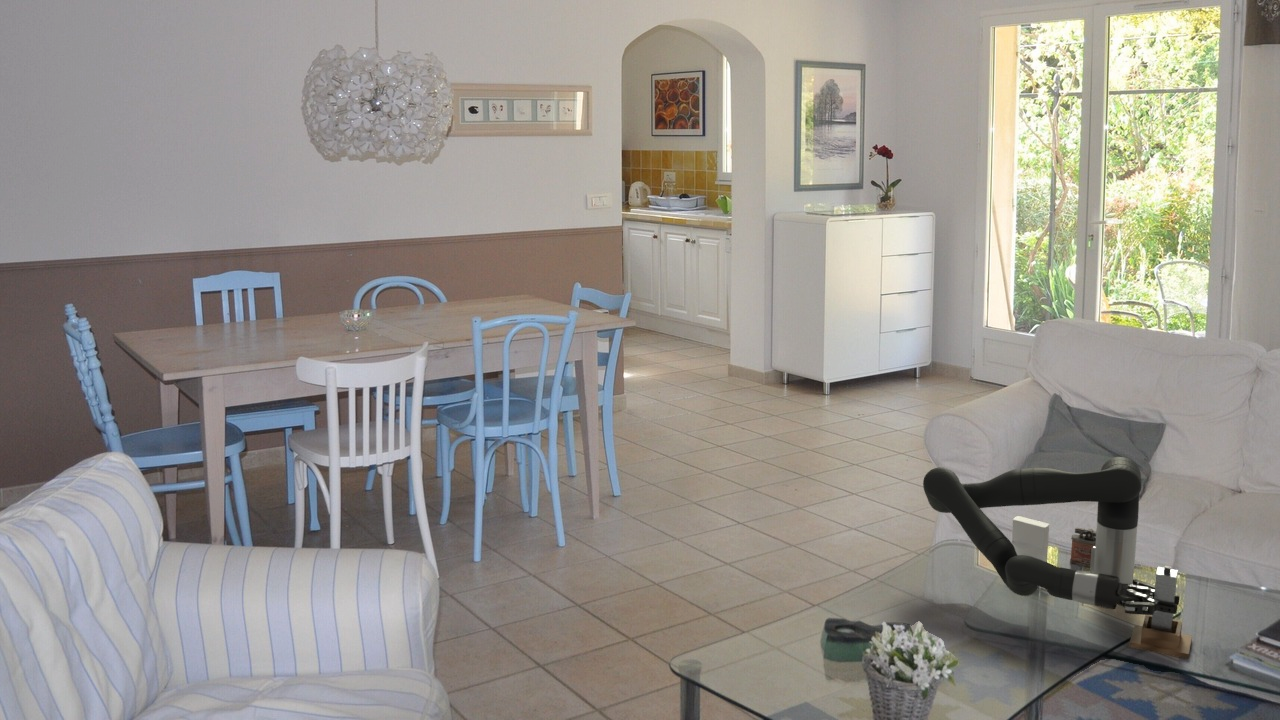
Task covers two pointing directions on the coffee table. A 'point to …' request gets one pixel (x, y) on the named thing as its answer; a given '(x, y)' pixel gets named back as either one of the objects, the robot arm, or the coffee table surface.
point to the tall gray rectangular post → (1164, 597)
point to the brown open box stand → (1161, 639)
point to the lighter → (1082, 547)
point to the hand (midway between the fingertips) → (1177, 604)
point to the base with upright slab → (1030, 537)
